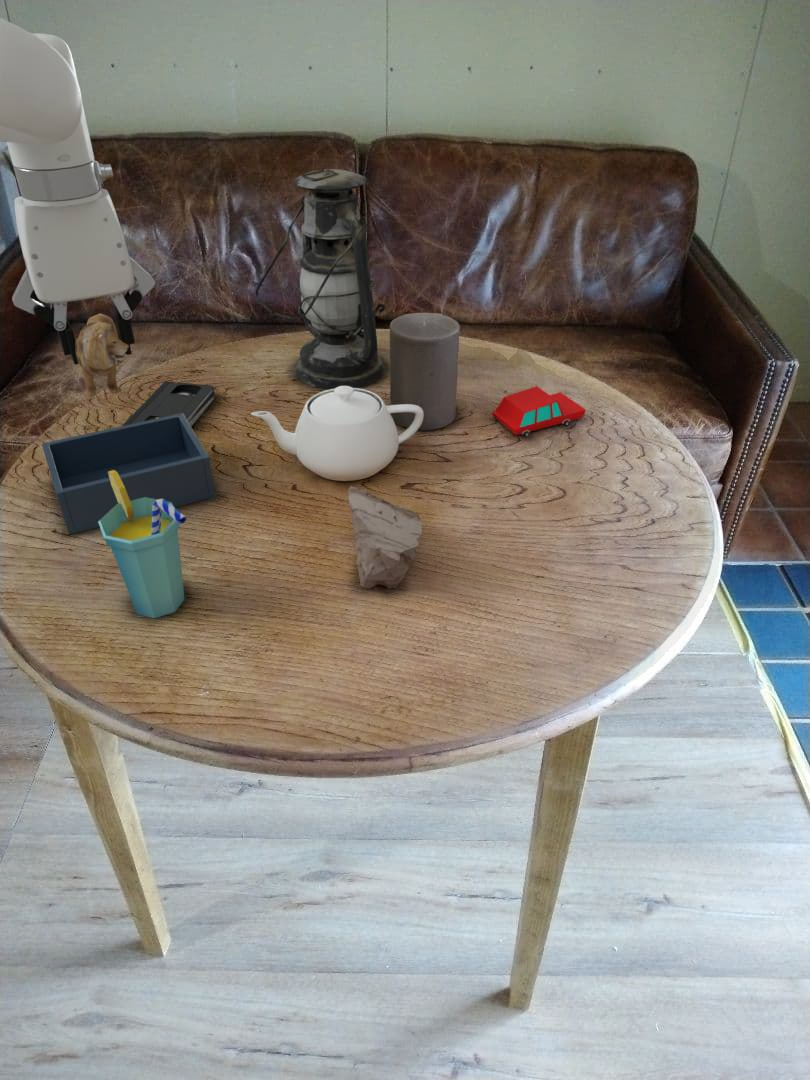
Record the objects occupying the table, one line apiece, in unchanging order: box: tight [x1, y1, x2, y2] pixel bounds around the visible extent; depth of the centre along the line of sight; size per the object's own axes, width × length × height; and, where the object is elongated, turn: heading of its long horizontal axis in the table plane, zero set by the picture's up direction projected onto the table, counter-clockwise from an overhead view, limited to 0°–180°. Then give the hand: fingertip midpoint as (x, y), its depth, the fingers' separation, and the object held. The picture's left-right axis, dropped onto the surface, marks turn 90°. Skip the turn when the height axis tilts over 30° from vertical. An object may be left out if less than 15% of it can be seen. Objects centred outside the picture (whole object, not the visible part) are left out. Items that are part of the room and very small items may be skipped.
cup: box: [98, 470, 187, 619], centre depth 78 cm, size 14×8×15 cm, turn 50°
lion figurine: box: [75, 313, 129, 398], centre depth 89 cm, size 15×5×9 cm, turn 22°
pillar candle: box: [389, 312, 461, 431], centre depth 112 cm, size 10×10×15 cm
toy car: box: [491, 385, 587, 437], centre depth 114 cm, size 6×12×4 cm, turn 117°
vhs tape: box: [121, 380, 216, 428], centre depth 115 cm, size 14×8×2 cm, turn 169°
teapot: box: [251, 386, 424, 482], centre depth 102 cm, size 22×14×11 cm, turn 101°
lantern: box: [255, 168, 386, 390], centre depth 118 cm, size 19×19×30 cm
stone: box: [347, 485, 423, 589], centre depth 87 cm, size 15×9×10 cm
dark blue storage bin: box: [41, 413, 217, 535], centre depth 99 cm, size 18×13×6 cm
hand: (100, 353), depth 89 cm, fingers closed on lion figurine, 4 cm apart
